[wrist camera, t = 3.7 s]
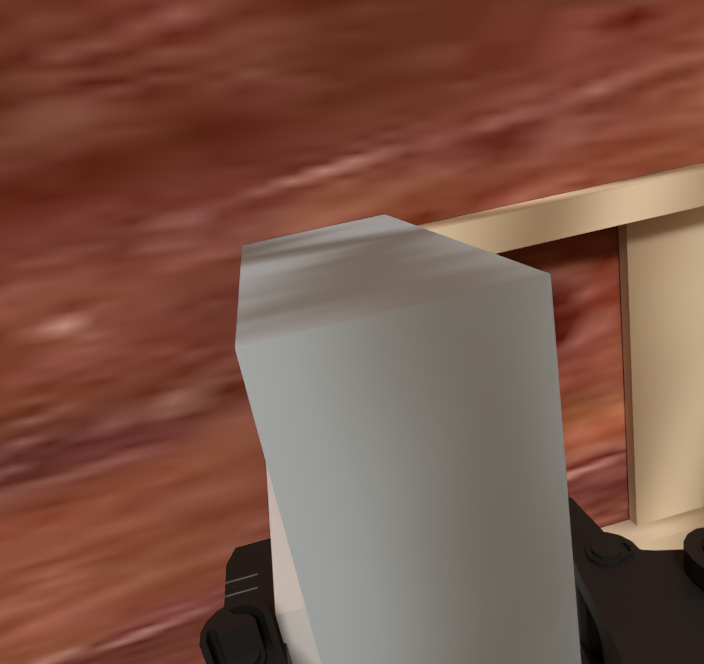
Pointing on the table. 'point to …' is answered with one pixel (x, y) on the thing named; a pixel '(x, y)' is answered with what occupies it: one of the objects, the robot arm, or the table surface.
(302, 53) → the table surface
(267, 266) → the rock display tray
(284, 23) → the table surface
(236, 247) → the table surface
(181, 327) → the table surface
